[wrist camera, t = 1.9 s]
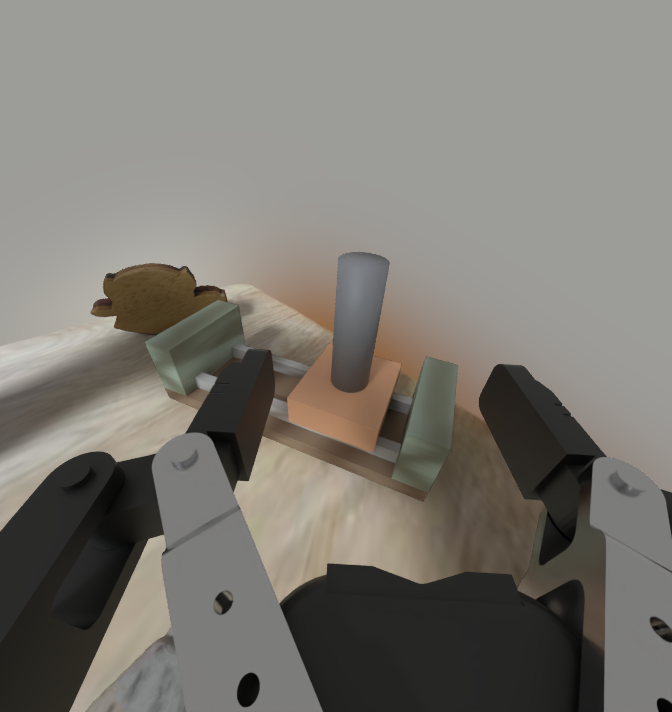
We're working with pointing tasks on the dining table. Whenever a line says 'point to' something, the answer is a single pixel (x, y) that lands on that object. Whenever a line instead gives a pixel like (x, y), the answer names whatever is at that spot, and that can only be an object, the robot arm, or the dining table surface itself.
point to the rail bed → (227, 344)
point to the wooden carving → (153, 297)
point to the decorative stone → (146, 683)
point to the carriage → (350, 361)
